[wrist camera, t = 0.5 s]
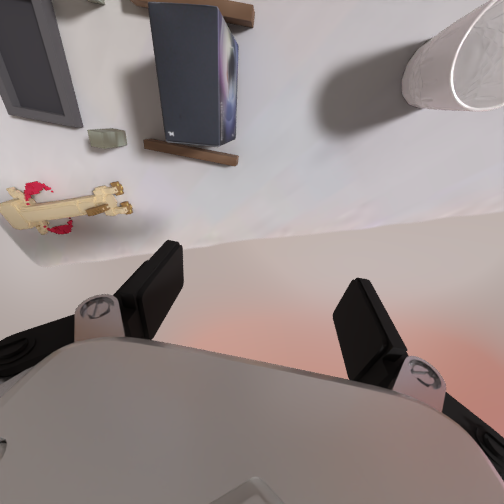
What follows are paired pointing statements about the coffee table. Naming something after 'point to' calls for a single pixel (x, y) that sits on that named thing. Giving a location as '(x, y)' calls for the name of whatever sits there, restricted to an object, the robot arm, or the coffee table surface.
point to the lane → (116, 138)
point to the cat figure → (59, 207)
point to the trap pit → (35, 64)
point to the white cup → (460, 64)
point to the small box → (195, 73)
